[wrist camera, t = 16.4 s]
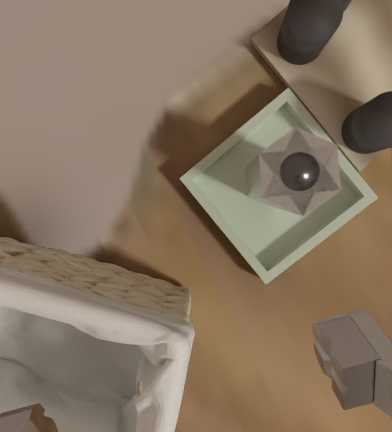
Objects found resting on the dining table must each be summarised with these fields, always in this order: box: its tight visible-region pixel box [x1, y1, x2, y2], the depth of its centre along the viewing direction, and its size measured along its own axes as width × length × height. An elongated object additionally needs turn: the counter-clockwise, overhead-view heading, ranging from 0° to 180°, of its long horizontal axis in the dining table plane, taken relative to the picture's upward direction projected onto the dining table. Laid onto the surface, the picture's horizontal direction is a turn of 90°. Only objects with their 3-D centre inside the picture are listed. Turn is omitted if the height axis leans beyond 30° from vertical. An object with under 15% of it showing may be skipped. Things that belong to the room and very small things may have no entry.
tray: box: [179, 88, 378, 284], centre depth 32 cm, size 12×12×2 cm
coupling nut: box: [246, 127, 341, 216], centre depth 27 cm, size 5×4×12 cm
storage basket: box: [0, 237, 195, 432], centre depth 28 cm, size 24×16×15 cm
